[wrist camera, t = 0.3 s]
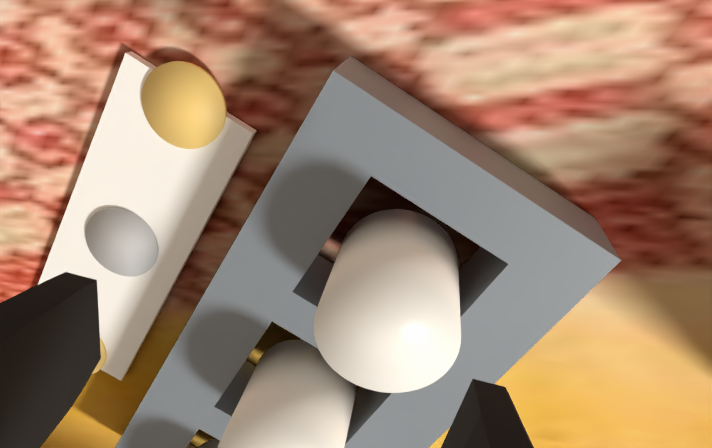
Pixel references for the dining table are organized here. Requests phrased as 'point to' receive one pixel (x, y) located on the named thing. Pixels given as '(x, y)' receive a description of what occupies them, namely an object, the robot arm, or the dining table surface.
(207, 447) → the button
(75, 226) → the pattern card
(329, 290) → the button
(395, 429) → the board
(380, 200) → the dining table surface
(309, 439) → the button mid
